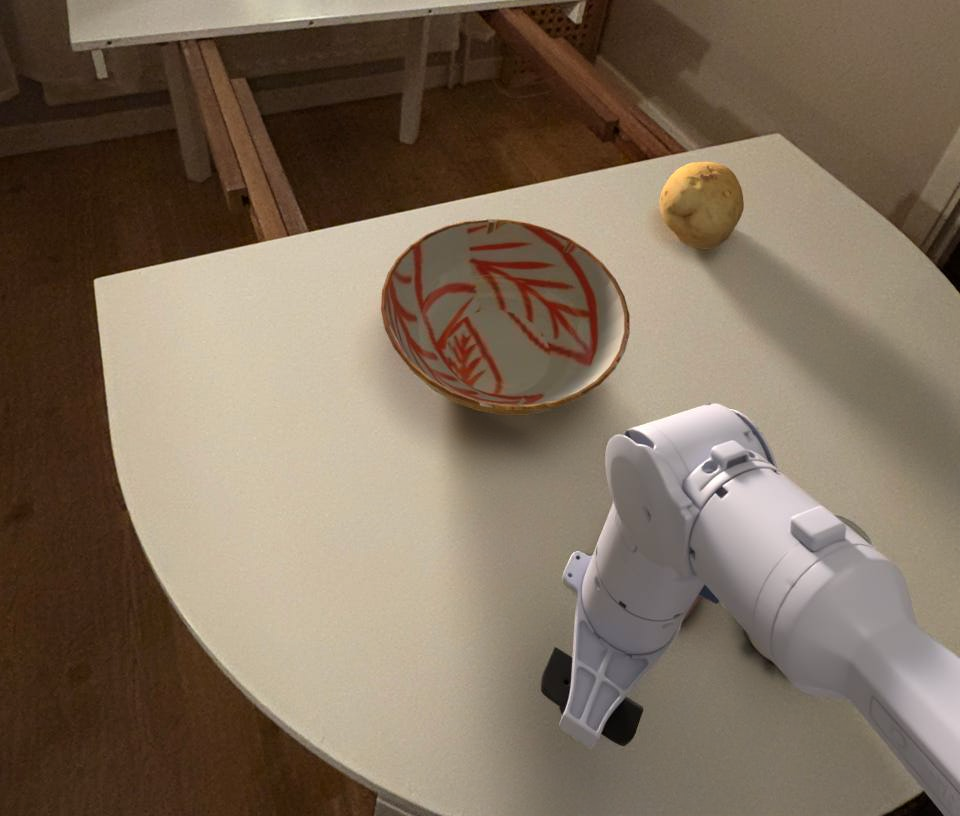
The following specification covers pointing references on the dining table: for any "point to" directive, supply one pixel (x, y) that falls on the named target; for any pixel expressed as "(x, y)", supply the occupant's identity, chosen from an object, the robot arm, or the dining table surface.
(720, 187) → the potato
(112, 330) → the dining table surface
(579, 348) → the bowl
